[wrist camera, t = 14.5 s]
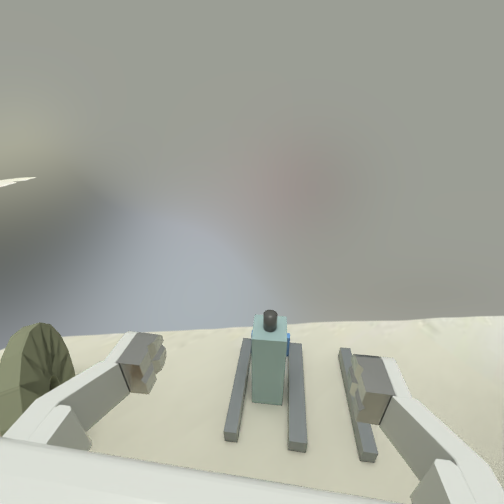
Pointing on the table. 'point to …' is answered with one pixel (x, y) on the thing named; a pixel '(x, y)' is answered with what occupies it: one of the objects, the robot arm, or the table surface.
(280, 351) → the capped teal pillar
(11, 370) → the spool
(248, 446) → the table surface
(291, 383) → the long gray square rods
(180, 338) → the table surface
